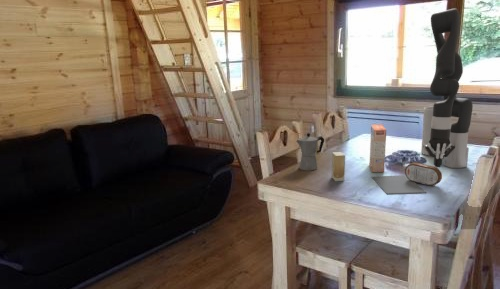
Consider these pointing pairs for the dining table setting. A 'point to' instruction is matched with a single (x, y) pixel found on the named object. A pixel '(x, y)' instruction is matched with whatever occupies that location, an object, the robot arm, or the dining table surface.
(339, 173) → the skincare box
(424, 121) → the cylinder vase
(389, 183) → the mat
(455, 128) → the robot arm
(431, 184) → the tin
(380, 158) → the cracker box
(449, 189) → the dining table surface
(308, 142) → the coffeepot
